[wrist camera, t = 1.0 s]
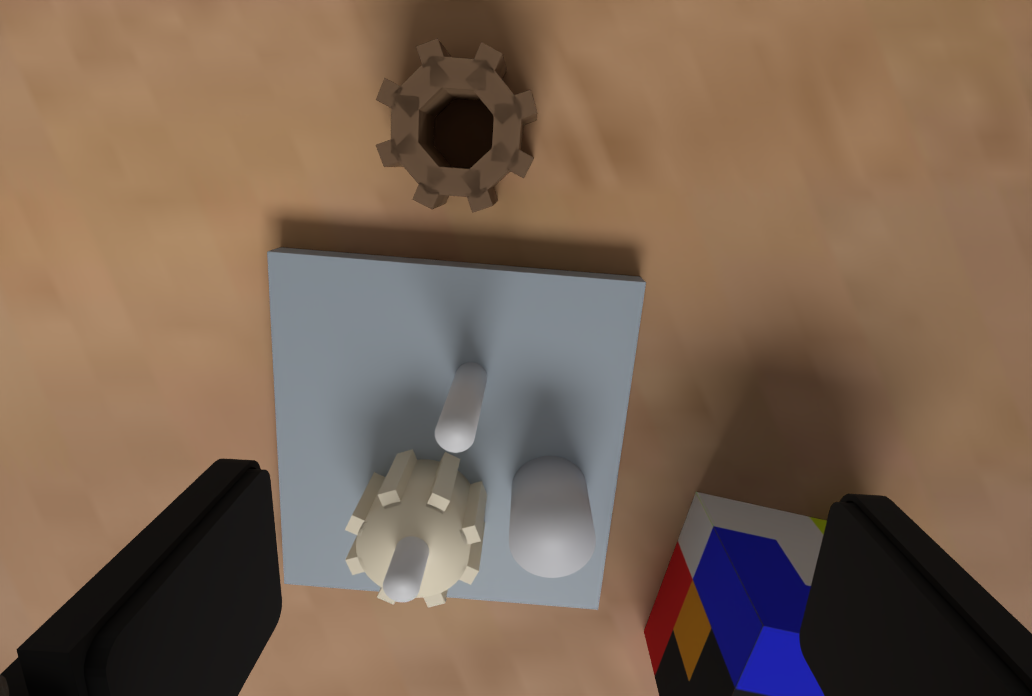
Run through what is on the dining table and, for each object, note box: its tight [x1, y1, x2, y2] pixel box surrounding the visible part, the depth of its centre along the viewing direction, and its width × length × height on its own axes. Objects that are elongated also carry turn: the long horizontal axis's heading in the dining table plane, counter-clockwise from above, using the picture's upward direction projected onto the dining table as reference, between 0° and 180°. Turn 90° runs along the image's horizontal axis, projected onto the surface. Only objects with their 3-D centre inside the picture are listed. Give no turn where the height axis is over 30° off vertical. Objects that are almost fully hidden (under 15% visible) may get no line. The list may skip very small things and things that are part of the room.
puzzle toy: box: [644, 492, 827, 696], centre depth 30 cm, size 10×10×10 cm
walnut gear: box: [376, 38, 537, 213], centre depth 25 cm, size 6×6×4 cm
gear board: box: [267, 247, 646, 610], centre depth 28 cm, size 19×18×8 cm
